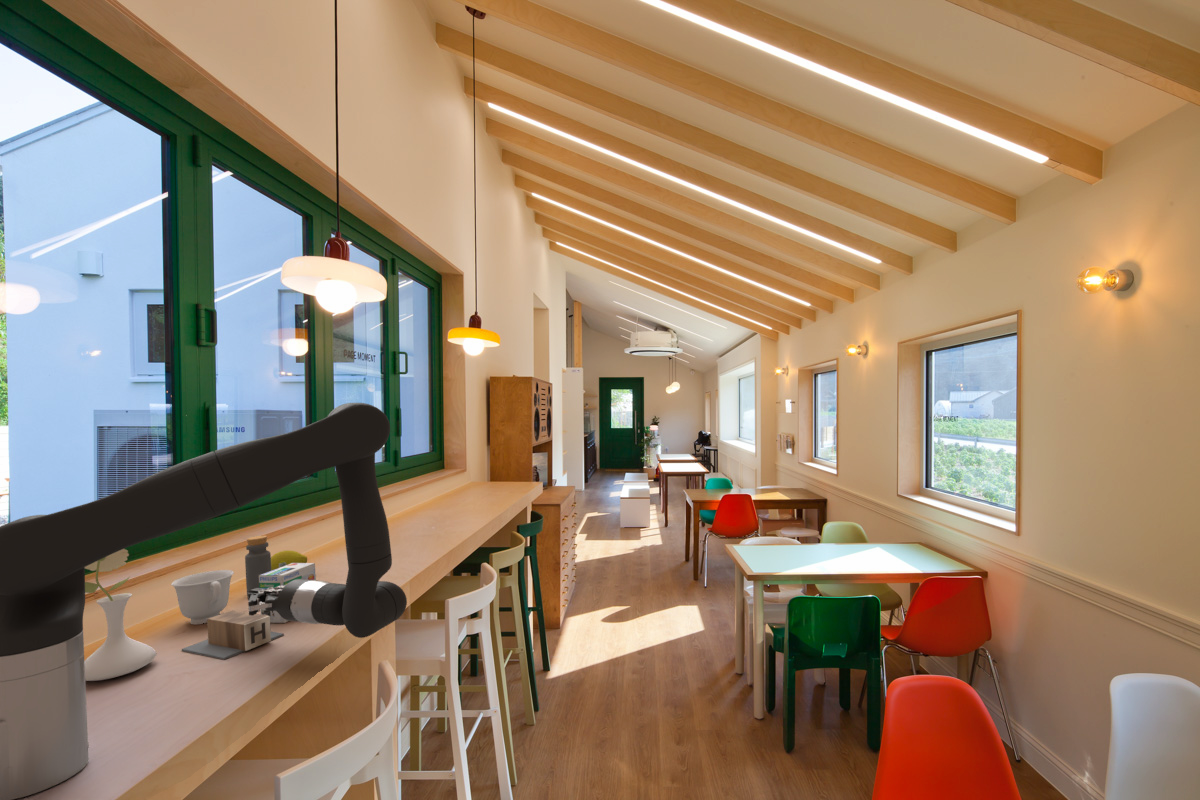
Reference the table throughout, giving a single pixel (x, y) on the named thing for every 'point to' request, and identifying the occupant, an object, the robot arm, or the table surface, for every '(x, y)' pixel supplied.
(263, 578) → the light bulb box
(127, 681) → the table surface
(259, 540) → the bottle
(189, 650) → the slate mat
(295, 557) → the lemon
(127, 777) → the table surface
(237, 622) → the walnut block
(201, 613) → the teacup
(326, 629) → the table surface
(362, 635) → the robot arm
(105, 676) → the flower in vase
